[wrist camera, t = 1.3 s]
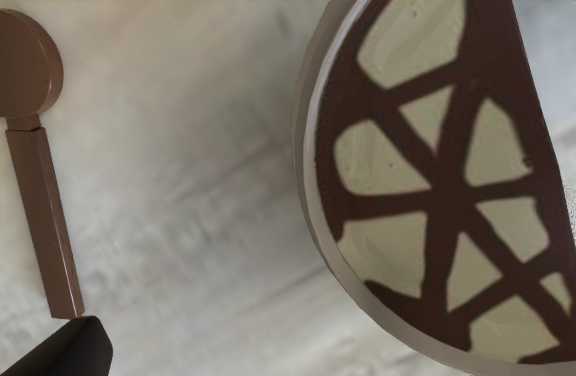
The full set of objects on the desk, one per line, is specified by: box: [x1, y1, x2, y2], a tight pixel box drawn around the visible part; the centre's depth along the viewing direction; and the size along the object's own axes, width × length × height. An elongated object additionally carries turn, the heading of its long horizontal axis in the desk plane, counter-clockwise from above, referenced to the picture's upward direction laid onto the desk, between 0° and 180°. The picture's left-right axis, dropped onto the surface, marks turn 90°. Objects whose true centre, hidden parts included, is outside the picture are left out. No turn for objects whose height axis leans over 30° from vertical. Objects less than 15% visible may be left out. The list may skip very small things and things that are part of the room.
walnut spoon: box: [0, 9, 85, 320], centre depth 23 cm, size 5×16×1 cm, turn 0°
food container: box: [291, 0, 576, 376], centre depth 14 cm, size 12×6×10 cm, turn 24°
